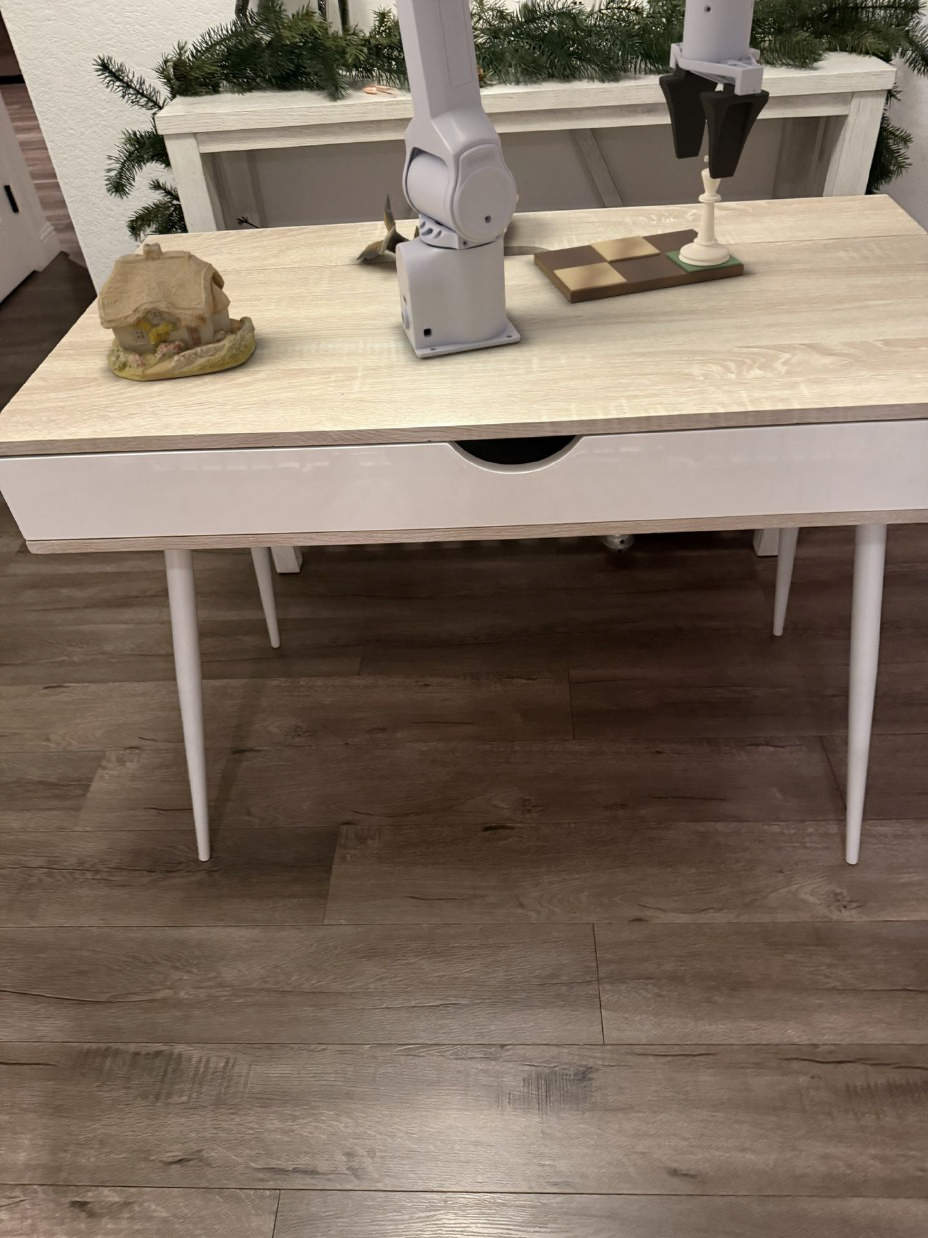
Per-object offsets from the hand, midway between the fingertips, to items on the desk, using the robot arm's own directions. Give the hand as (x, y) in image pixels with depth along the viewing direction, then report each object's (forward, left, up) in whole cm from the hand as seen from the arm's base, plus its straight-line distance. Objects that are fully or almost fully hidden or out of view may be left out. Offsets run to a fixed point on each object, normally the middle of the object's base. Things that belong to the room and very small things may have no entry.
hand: (703, 166), depth 87 cm
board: (-5, +3, -10) cm, 11 cm away
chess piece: (+1, -1, -9) cm, 9 cm away
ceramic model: (-51, -1, -10) cm, 52 cm away
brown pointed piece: (-28, +15, -10) cm, 33 cm away
